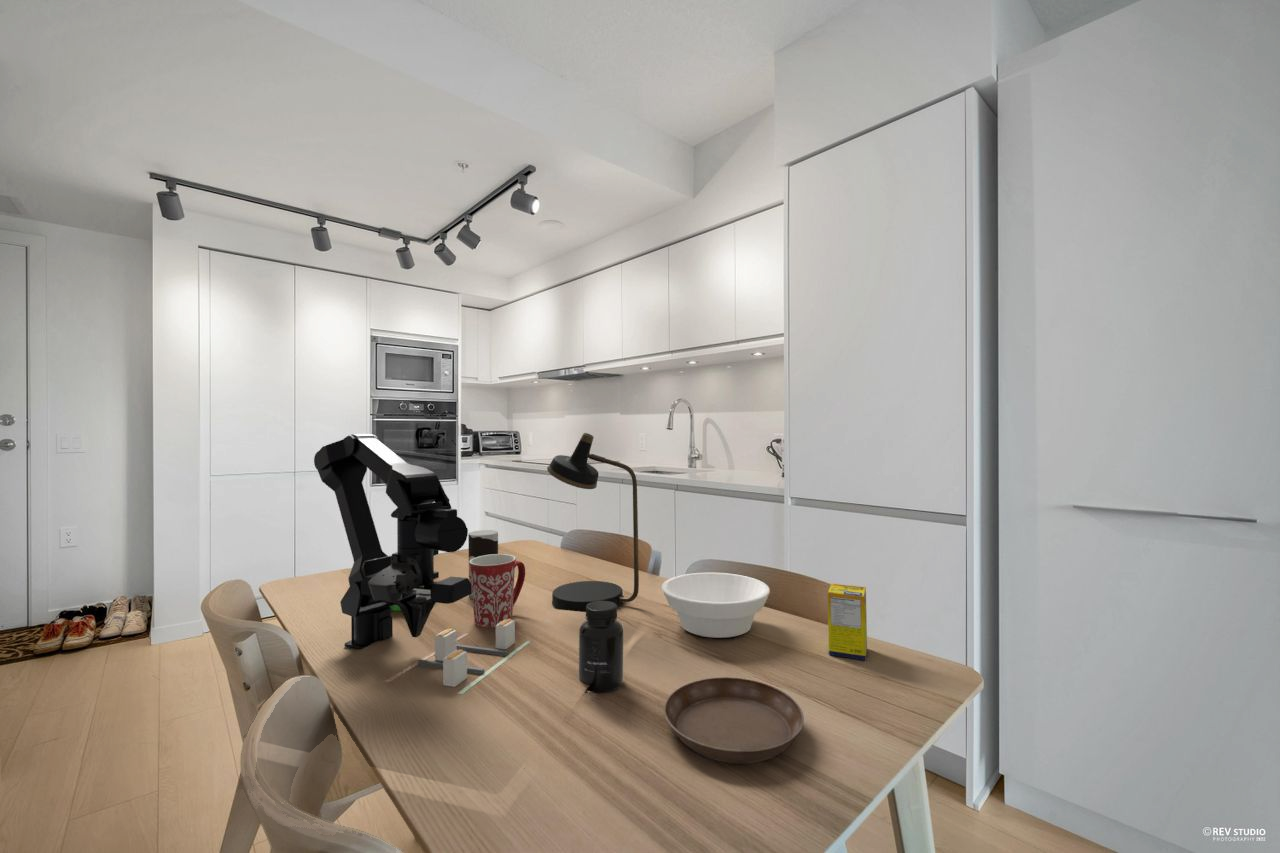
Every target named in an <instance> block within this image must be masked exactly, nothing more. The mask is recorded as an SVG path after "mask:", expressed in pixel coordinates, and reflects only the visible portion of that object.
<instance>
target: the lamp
mask: <svg viewBox="0 0 1280 853" xmlns="http://www.w3.org/2000/svg"><path fill="white" fill-rule="evenodd" d="M593 441H594V435H592V434H590V433H588V432H583V434H582V436H581V437H580V439H579V441H578V444H577V445H576V447H575V449H574V450H573V452H572V454H571V455H570V456H569V455H563V454H559V455H558V454H557V455H555V456H554V457H553V458H552V460H551V462H550V463H549V465H548V466H547V467H546V469H547V472H548V473H549V474H550V475H551V476H552V477H554V478H555V479H557V480H558V481H560V482H561V483H563V484H566V485H569V486H572V487H575V488H579V489H583V490H594V489H596V488H598V487H597V486H598V479H599V471H598V469H596V468H595V467H594V466H592V465H591V464H589V463H588V460H593V461H595V462H599V463H603V464H607V465H610V466H614V467H617V468H620V469H623V470H625V471H626V472H627V473H628V474H629V475H630V476H631V477H630V478H631V480H632V521H633V522H632V524H633V529H632V530H633V533H632V534H633V536H632V537H633V592H632V594H631V596H630V597H629V596H628V597H625V595H623V593H624V592H623V587H621V586H620V585H618V584H616V583H613V582H608V581H599V580H585V581H584V580H583V581H575V582H568V583H565V584H562V585H560V586H557V587H556V588H554V589H553V590H552V592H551V593H552V595H551V597H552V600H551V605H552V606H553V608H555V609H557V610H559V611H560V610H562V611H569V612H581V613H586V605H587V604H589V603H592V602H596V601H609V602H613V603H615V604H616V605H617V607H619V606H620V605H622V603H629V602H633V601H634V600H636V598H637V597H638V594H639V587H640V586H639V584H640V581H639V580H640V574H639V571H640V569H639V566H640V565H639V562H640V561H639V522H638V521H639V519H638V518H639V517H638V514H639V512H638V509H639V508H638V483H637V475H636V474H635V472H634V469H632V468H631V467H630V466H629V465H626V464H624V463H621V462H618V461H616V460H612V459H609V458H607V457H604V456H600V455H597V454H594V453H590V451H591V448H592V444H593Z"/></svg>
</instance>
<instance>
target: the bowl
mask: <svg viewBox="0 0 1280 853" xmlns="http://www.w3.org/2000/svg"><path fill="white" fill-rule="evenodd" d="M661 590H662V592H663V595H664V597H665V599H666V601H667V603H668V605H669V607H670V608H671V609H672V610H674V611H676V613H677V617H678V620H679V624H680V626H681V627H682V629H684V630H685V631H687V632H689V633H691V634H694V635H697V636H700V637H706V638H714V639H715V638H716V639H717V638H720V639H721V638H732V637H737V636H741V635H743V634H744V635H745V634H746V633H748V632H749V631H750V630H751V627H752V625H753V621H754V618H755V615H756V614H757V613H759V612H761V611H762V609H763V608H764V606H765V604H766V602H767V601H768V600H767V599H768V598H769V595H770V593H771V589H770V587H769V585H768V584H767V583H765V582H763V581H762V580H759V579H757V578H753V577H750V576H745V575H741V574H736V573H735V574H734V573H729V572H728V573H727V572H694V573H693V572H692V573H687V574H681V575H677V576H674V577H670V578H669V579H667V580H665V581H664V582H663V583H662V585H661Z"/></svg>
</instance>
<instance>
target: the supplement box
mask: <svg viewBox="0 0 1280 853" xmlns="http://www.w3.org/2000/svg"><path fill="white" fill-rule="evenodd" d="M866 589H867V587H866V586H859V585H852V584H851V585H850V584H849V585H848V584H840V583H839V584H838V583H831V584H830V586H829V588H828V592H827V620H828V622H827V623H828V624H827V628H828V629H827V631H828V655H829V656H834V657H835V656H836V657H841V658H849V659H854V660H855V659H856V660H861V661H866V660H867V654H868V653H867V651H868V630H867V629H868V628H867V626H868V625H867V591H866Z"/></svg>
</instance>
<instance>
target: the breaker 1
mask: <svg viewBox="0 0 1280 853" xmlns="http://www.w3.org/2000/svg"><path fill="white" fill-rule="evenodd" d="M442 663H443V669H442V670H443V671H442V673H443V674H442V682H443V684H442V685H443V686H446V687H453V688H455V687H456V686H458V685H460V684H461V683H462V682H464V681H465V680H466V679H468V672H467V666H468V651H463V650H460V649H459V650H455V651H454V652H452V653H451V654H449V655H447V656H446V657H444V658H443V661H442Z"/></svg>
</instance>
